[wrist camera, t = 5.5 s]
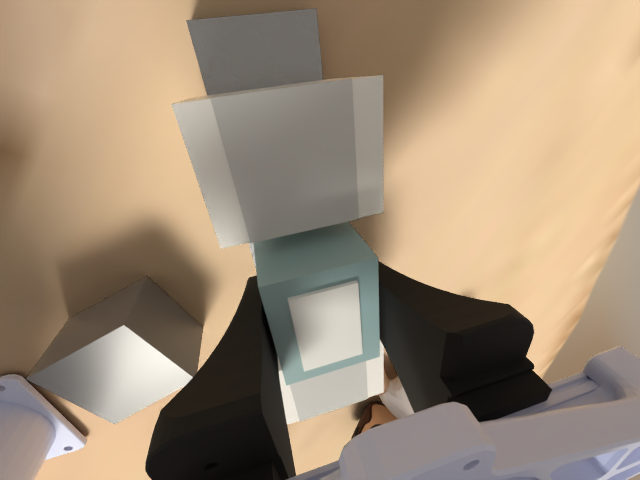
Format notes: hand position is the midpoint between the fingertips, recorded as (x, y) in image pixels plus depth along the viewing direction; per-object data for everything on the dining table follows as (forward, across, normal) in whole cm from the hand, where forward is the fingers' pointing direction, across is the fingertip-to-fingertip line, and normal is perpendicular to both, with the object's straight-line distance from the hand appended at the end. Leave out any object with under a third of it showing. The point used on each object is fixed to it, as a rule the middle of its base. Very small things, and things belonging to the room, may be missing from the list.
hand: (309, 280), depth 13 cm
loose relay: (+5, +10, +4) cm, 12 cm away
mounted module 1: (+4, 0, -6) cm, 7 cm away
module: (+2, 0, 0) cm, 2 cm away
